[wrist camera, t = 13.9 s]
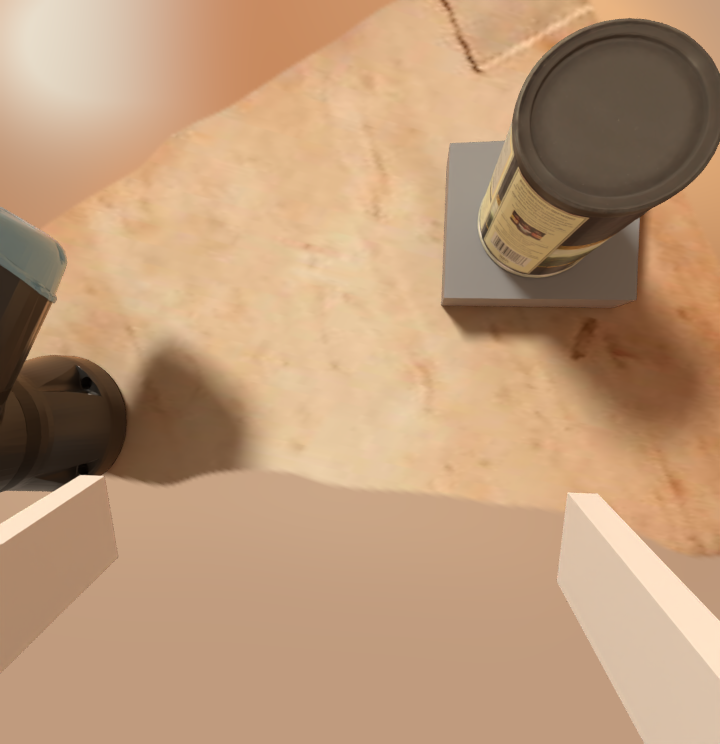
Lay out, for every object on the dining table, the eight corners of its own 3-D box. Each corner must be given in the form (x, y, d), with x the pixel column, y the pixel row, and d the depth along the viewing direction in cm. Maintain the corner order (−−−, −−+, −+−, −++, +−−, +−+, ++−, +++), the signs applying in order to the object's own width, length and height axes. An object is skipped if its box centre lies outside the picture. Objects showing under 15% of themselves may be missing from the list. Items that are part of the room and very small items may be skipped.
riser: (441, 305, 40) (443, 297, 36) (446, 166, 40) (450, 143, 36) (613, 307, 37) (636, 300, 33) (619, 160, 37) (643, 134, 33)
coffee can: (614, 172, 34) (754, 29, 20) (581, 290, 34) (695, 231, 20) (493, 151, 35) (543, 3, 21) (462, 264, 35) (492, 192, 21)
